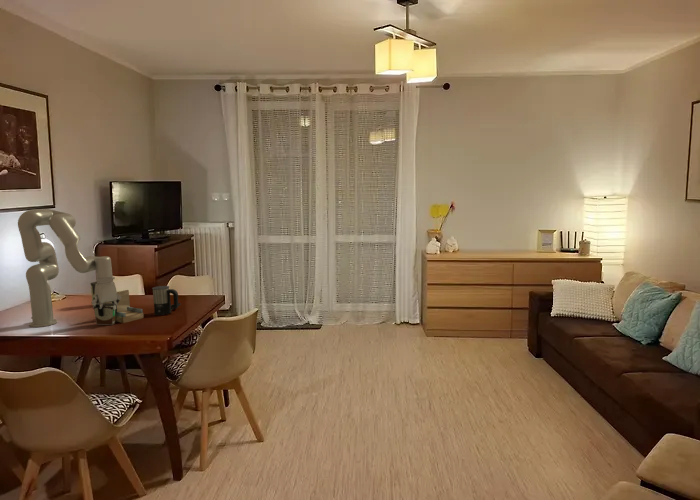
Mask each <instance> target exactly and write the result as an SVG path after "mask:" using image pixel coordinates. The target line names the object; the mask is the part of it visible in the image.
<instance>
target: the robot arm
mask: <svg viewBox="0 0 700 500" xmlns="http://www.w3.org/2000/svg"><path fill="white" fill-rule="evenodd" d="M76 222H77V221H76V218H75V217H74V216H73V215H72V214H70V213H67V212H64V211H60V210H55V209H51V208H36V209H29V210H26V211H25V212H23V213H21V215H20V216H19V218H18V220H17V227H18V232H19V234H20V237H21V244H22V248H23V252H24V253H23V254H24V257H25V259H26V261H28V262H30V263H37V262H38V263H37V264H33V265H31V266H29V267H28V268H27V269H26V271H25V278H26V281H27V285H28V290H29V297H30V298H29V299H30V308H31V310H30V311H31V318H30V319H31V322H30V323H29V324H28V326H29V327H31V328H42V327H47V326H48V327H49V326H52V325H56V324H57V323H58V320H57V319H54V310H53V309H54V308H53V298H52V297H53V296H52V290H51V286H50V285H49V282H48V281H51V280H53V279H55V278H57V276H58V275H59V270H60V269H59V263H58V258H57V253H56V250H55V248H54V246H53V245H52V244H51V243H49V242H45V241H42V237H41V234H40V232H39V230H38V229H37V227H39V226H49V227H50V229H51V230H52V231H53V232H54V234H55V235H56V237H58V240H60V242H61V243H62V245H63V247H64V254H65V257H66V259H67V261H68V262H69V264H70V265H71V267H72V268H73V269H74V270H75V271H76V272H78V273H80V274H85V273H90V272H92V271H95V274H96V282H97V284H96V285H95V299H94V300H93V301H92V300H91V303H90V304H93V305H94V306H95V307H96V308H98V314H99V316H104V314H103V309H102V306H103V303H107V302H112V304H115V305H116V309H115V313H117V305H118V302H119V300H120V299H121V296H120V295H118V294H117V292H118V291H117V287H116V284H115V282H114V280H115V276H113V268H112V259H111V257H110V256H107V255H105V256H103V255H102V256H95V255H91V256H85V257H84V256H83V254H81V252H80V250H79V245H78V244H79V242H80V240H81V237H80V234H78V232H77V231H76V229H75V227H76V225H77V224H76ZM97 303H98V304H97ZM93 305H92V306H93Z"/></svg>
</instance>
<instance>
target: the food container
mask: <svg viewBox="0 0 700 500" xmlns="http://www.w3.org/2000/svg"><path fill="white" fill-rule="evenodd" d="M102 309H103V314H104V316H99V314H98V308H96V307H95V306H94V307H93V306H92V310H93V312H94V318H95V323H96V325H99V326H100V325H101V326H102V325H103V326H104V325H105V326H114V325H115V324H116V321H115V309H116V305H115V304H112V303H105V304H103V306H102Z"/></svg>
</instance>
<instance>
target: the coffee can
mask: <svg viewBox="0 0 700 500" xmlns="http://www.w3.org/2000/svg"><path fill="white" fill-rule="evenodd" d="M96 284H97V281H94V282H90V290H91V302H92V301H93V300H94V299H95V285H96ZM91 304H92V303H91ZM97 304H98V303H97ZM103 304H104V303H103ZM93 307H94V305H93V304H92V308H93Z"/></svg>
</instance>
